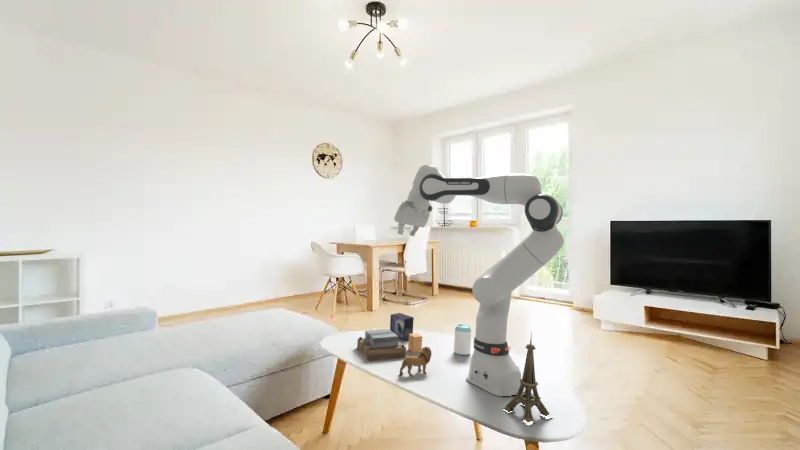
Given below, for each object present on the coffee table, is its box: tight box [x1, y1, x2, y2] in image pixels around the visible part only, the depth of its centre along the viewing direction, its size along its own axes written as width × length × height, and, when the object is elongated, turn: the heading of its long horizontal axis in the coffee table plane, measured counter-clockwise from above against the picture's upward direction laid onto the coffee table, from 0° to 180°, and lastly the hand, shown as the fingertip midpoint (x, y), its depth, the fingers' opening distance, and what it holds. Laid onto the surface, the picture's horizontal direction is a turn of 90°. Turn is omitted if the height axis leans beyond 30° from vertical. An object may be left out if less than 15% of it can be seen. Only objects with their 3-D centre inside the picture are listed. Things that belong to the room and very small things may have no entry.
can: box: [453, 323, 472, 356], centre depth 167 cm, size 7×7×12 cm
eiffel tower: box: [502, 331, 550, 422], centre depth 115 cm, size 11×11×25 cm
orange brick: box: [407, 332, 423, 354], centre depth 167 cm, size 5×4×7 cm
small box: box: [389, 312, 415, 342], centre depth 186 cm, size 11×6×10 cm, turn 42°
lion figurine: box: [399, 346, 432, 377], centre depth 142 cm, size 15×5×9 cm, turn 129°
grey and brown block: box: [356, 328, 407, 362], centre depth 163 cm, size 16×16×8 cm
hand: (405, 234), depth 159 cm, fingers open, 8 cm apart
